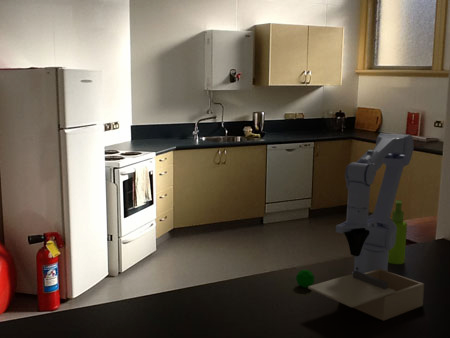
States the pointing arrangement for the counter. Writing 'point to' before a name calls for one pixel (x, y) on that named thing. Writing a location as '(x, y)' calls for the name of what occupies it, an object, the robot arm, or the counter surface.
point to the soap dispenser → (398, 236)
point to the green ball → (305, 278)
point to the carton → (394, 296)
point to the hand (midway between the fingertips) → (355, 255)
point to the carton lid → (353, 289)
